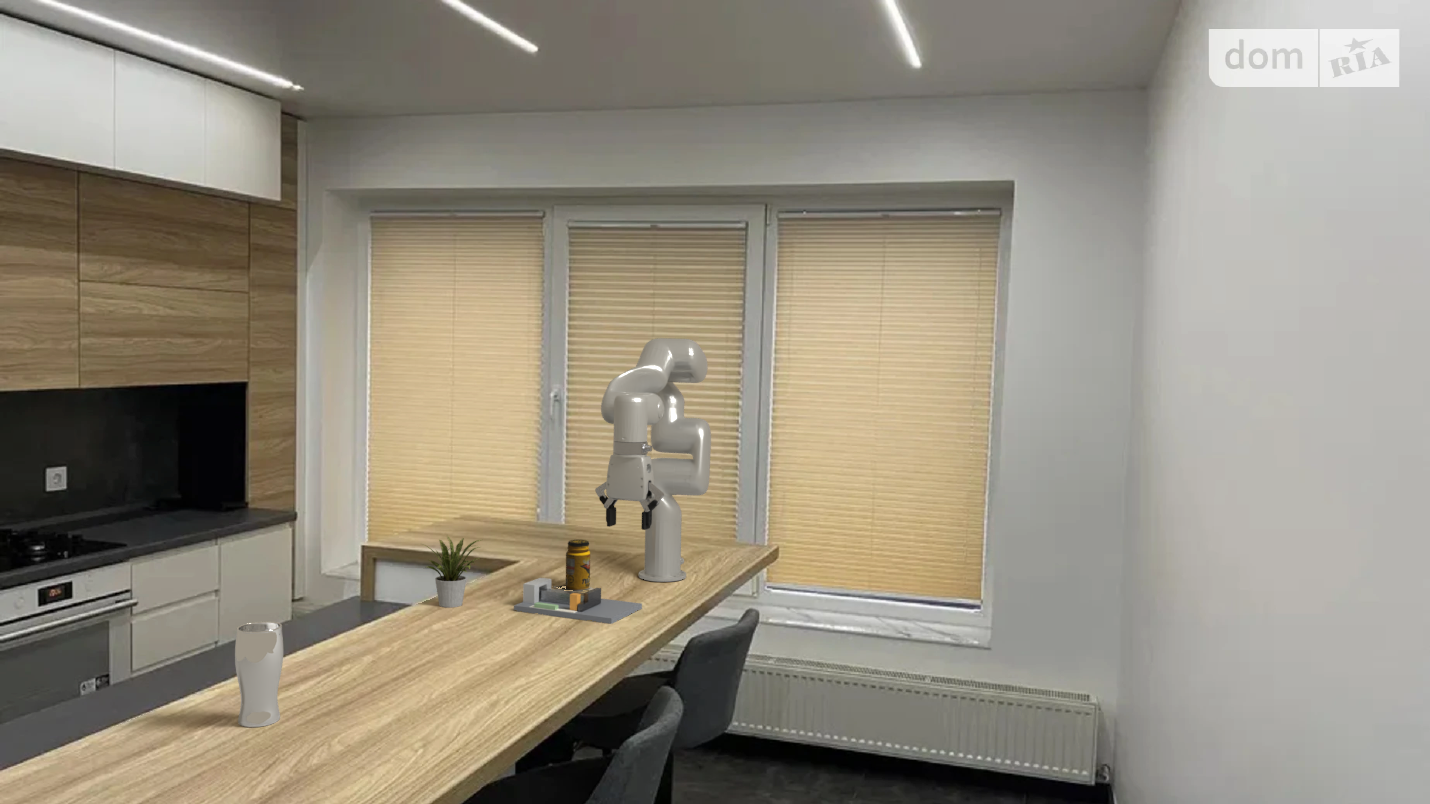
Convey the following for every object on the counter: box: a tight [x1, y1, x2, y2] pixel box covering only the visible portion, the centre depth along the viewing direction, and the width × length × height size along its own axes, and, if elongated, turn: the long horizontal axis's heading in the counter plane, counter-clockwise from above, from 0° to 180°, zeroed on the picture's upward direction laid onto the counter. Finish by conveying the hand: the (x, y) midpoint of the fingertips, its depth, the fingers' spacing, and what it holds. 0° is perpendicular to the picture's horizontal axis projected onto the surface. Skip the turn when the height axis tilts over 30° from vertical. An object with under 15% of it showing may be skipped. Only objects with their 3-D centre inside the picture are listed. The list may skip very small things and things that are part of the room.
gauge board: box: [513, 577, 643, 625], centre depth 237 cm, size 15×25×5 cm, turn 68°
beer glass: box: [234, 620, 284, 728], centre depth 162 cm, size 7×7×15 cm
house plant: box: [421, 535, 482, 608], centre depth 238 cm, size 14×14×16 cm
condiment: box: [552, 539, 595, 592], centre depth 258 cm, size 7×8×12 cm
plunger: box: [539, 587, 602, 612], centre depth 237 cm, size 9×15×4 cm, turn 68°
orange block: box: [570, 593, 581, 611], centre depth 232 cm, size 2×2×4 cm
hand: (628, 526), depth 231 cm, fingers open, 8 cm apart
